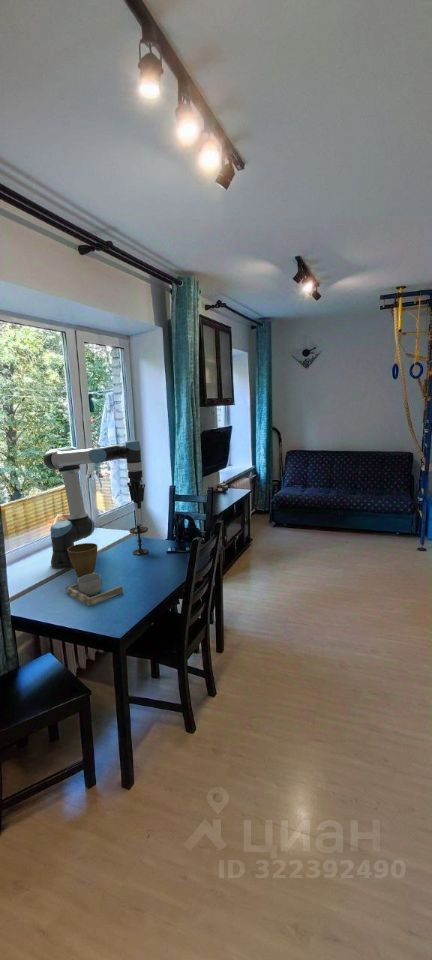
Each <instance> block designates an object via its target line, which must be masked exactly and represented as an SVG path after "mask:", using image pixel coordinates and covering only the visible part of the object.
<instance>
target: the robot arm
mask: <svg viewBox="0 0 432 960" xmlns="http://www.w3.org/2000/svg"><path fill="white" fill-rule="evenodd" d="M140 443H141V442H140V441H139V440H134V439H133V440H127V441H125V443H124V444H118V443H114V444H109V445H107V446H102V447H95V448H93V447H92V448H85V449H83V448H82V449H78V447H75V446H64V447H58V448H53V449H50V450H48V451H46V452H45V454H44V456H43V463H44V465H45V467H46V468H48V469H50V470H54V471H55V470H58V472H59V473H60V474H61V475H62V479H63V484H64V490H65V496H66V500H67V506H68V512H69V515H68V518H67V520H62V521H59V522H56V523H54V524H52V525H51V526H50V539H51V548H52V556H51V559H50V566H51V567H52V568H54V569H66V568H71V567H73V566H72V563H71V561H70V558H69V554H68V550H67V549H68V548H69V547H71V546H74V545H75V542H78V541H81V540H83V539H86V538H88V537H90V536H91V535H93V533H94V531H95V522H94V520H93V519H92V517H90V516H89V513H87V512H86V509H85V504H84V503H85V502H84V498H83V493H82V487H81V483H80V476H79V471H80V470H81V465H86V464H88V465H89V464H102V463H105V462H110V461H114V460H115V461H116V460H122V459H124V460H126V469H127V478H128V479H129V482H126V485H127V487H128V491H129V496H130V500H131V501H133V503H134V505H133V506H134V513H135V514H134V515H135V516H136V515H139V516H140V515H141V514H142V502H144V497H145V496H144V495H145V489H146V484H145V483H143V480H142V478H143V477H144V476H143V470H142V469H143V466H142V465H143V464H142V451H141V450H142V449H141V444H140Z"/></svg>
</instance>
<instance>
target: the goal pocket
mask: <svg viewBox="0 0 432 960" xmlns="http://www.w3.org/2000/svg"><path fill="white" fill-rule="evenodd" d="M123 590H124V589H123V586H122V585H119V586H116V587H114V588H111V589H108V590H106V591H103V592H101V593H99V594H98V593H97V594H95V595H92V596H86V595H84V594H82V593H80V590H79V586H78V582H77V583H75V584H72V585H69V586H67V587H65V591H66V594H67V595H68V596H70V597H72V598H73V599H76V600H78V601H80V602H82V603H83V604H85V605H87V606H90V607H91V606H94V605H96V604H99V603H101V602H103V601H106V600H109V599H110V598H113V597H115V596H118V595H120V594H123V593H124V592H123Z"/></svg>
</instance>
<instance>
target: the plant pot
mask: <svg viewBox="0 0 432 960" xmlns="http://www.w3.org/2000/svg"><path fill="white" fill-rule="evenodd" d="M67 550H68V554H69V558H70V561H71V563H72V566H71V567H72V568H73V571H74V572H75V574H76V576H77V579H78V578H80V577H82V576H84V575H87V574H92V573H93V572H95V571H96V570H95V569H96V566H97V559H98V543H97V544H96V543H93V542H90V543H89V542H87V543H85V542H84V543H83V542H82V543H78V544H74V546H71V547H69V548H68V549H67Z"/></svg>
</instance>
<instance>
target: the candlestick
mask: <svg viewBox="0 0 432 960" xmlns="http://www.w3.org/2000/svg"><path fill="white" fill-rule="evenodd" d="M135 521H136V524H134V527H131V528H130V529H129V530H128V531H129V533H130V534H132V535H137V537H138V539H137V540H136V542H137V543H138V544H137V546H138V549H135V550H133V551H132V554H133V556H144V555H148V554H149V550H148V549H147V548H142V546H143V543H142V542H143V539H142V538H141V535H142V534H145V533H147V532H148V531H149V528H148V527H146V526H142V524H141V522H140V514H139V515H136V514H135Z"/></svg>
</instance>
